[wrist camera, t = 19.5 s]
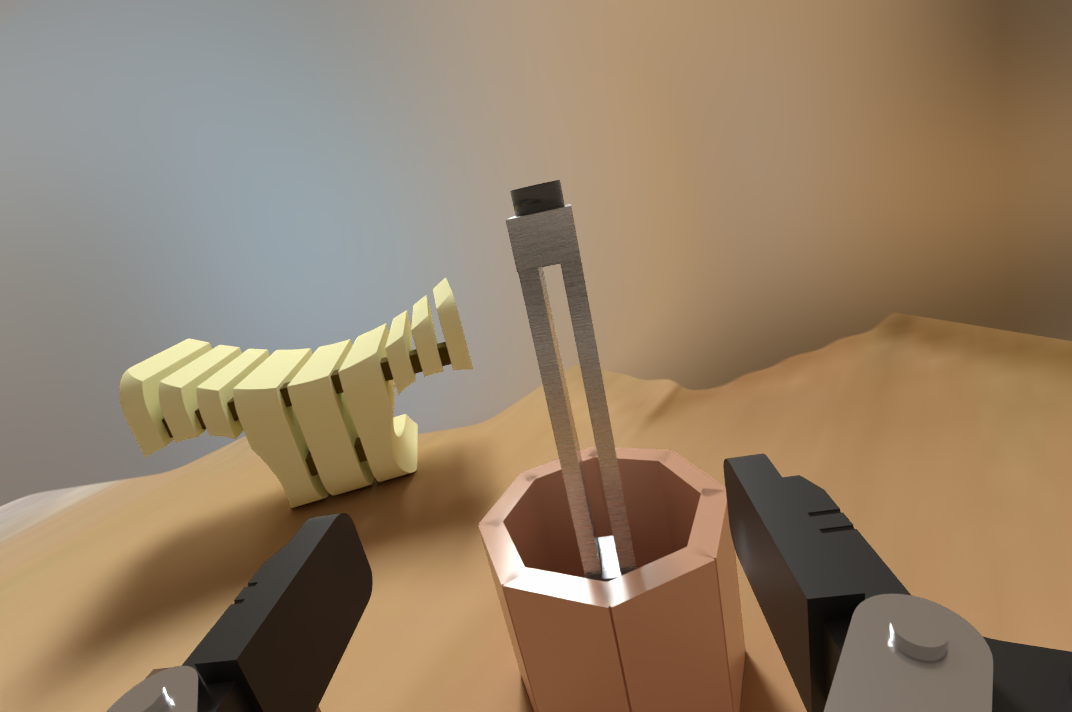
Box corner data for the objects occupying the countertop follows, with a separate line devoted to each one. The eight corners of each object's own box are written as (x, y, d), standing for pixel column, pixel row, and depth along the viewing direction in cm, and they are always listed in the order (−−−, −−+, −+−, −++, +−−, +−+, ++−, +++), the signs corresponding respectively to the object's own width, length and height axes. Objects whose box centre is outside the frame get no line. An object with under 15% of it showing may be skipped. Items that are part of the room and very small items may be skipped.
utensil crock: (490, 730, 25) (438, 572, 22) (572, 570, 35) (544, 443, 32) (729, 821, 20) (703, 627, 17) (750, 601, 29) (735, 453, 26)
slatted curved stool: (192, 551, 47) (106, 379, 42) (247, 472, 62) (188, 338, 57) (496, 460, 52) (453, 295, 47) (479, 407, 67) (445, 277, 62)
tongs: (601, 626, 28) (508, 192, 21) (646, 621, 28) (566, 179, 21) (606, 674, 26) (499, 192, 18) (655, 669, 25) (565, 177, 18)
